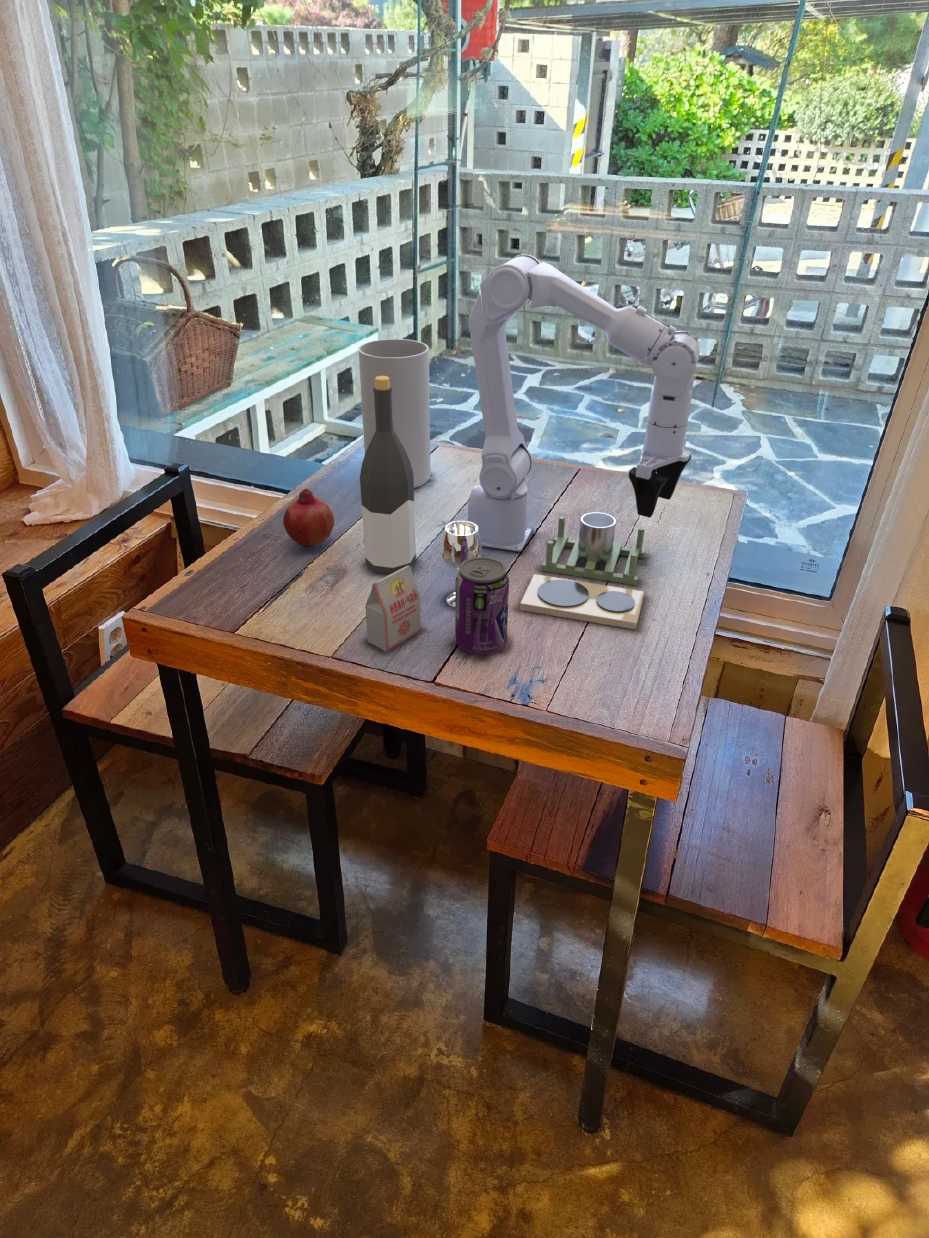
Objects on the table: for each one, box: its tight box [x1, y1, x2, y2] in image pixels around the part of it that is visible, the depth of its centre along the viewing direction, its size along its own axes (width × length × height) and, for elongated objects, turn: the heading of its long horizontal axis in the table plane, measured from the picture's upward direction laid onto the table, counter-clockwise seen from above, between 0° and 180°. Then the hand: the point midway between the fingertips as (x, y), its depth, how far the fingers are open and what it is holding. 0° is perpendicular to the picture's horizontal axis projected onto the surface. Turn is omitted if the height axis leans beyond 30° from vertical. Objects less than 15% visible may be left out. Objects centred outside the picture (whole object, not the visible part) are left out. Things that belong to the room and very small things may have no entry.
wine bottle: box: [359, 376, 417, 576], centre depth 124 cm, size 8×8×30 cm
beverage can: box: [454, 556, 510, 655], centre depth 110 cm, size 7×7×12 cm
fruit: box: [282, 488, 335, 548], centre depth 135 cm, size 8×8×10 cm
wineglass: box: [441, 520, 483, 608], centre depth 120 cm, size 6×6×12 cm
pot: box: [578, 511, 617, 563], centre depth 130 cm, size 6×6×6 cm
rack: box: [541, 516, 646, 586], centre depth 132 cm, size 15×10×5 cm
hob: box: [519, 573, 645, 631], centre depth 122 cm, size 17×9×2 cm, turn 73°
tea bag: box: [364, 565, 422, 652], centre depth 112 cm, size 4×7×10 cm, turn 139°
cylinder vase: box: [358, 338, 432, 489], centre depth 153 cm, size 12×12×25 cm
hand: (654, 506), depth 127 cm, fingers open, 7 cm apart
